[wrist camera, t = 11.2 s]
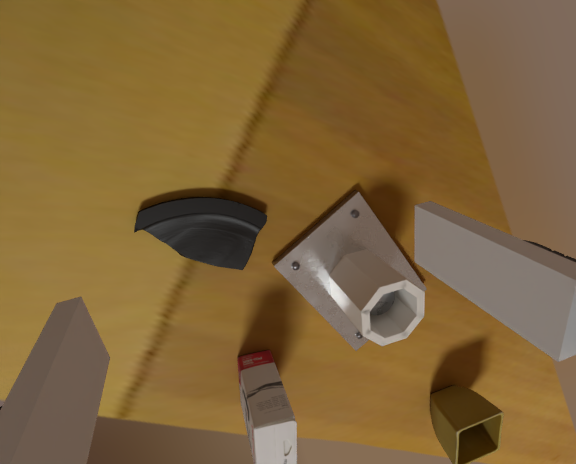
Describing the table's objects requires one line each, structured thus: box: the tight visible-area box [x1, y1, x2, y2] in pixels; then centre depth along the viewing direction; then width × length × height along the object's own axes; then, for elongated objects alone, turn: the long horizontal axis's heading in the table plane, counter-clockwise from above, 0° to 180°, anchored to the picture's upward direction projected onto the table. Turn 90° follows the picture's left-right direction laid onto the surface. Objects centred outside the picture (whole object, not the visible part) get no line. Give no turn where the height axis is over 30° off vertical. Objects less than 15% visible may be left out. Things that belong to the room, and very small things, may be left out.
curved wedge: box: [134, 197, 267, 270], centre depth 40 cm, size 8×14×2 cm, turn 67°
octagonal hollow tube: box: [329, 249, 425, 346], centre depth 44 cm, size 8×8×9 cm
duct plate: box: [272, 190, 426, 351], centre depth 46 cm, size 20×14×7 cm
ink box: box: [238, 350, 297, 464], centre depth 45 cm, size 9×5×12 cm, turn 1°
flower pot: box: [430, 385, 503, 464], centre depth 60 cm, size 9×9×9 cm
